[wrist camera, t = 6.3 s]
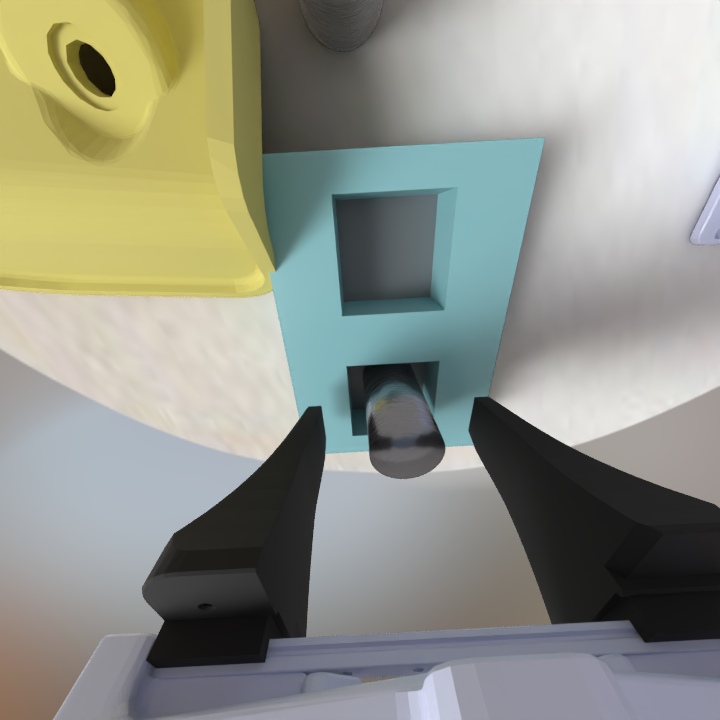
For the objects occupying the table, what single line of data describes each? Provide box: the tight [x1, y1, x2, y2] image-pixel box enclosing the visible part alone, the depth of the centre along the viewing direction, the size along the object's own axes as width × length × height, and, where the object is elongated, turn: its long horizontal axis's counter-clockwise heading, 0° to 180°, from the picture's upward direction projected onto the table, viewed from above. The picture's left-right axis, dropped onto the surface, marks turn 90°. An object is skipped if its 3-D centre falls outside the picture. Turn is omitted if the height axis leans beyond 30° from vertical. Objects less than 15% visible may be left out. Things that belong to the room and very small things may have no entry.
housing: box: [262, 137, 545, 454], centre depth 13 cm, size 10×14×3 cm
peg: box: [363, 363, 445, 479], centre depth 13 cm, size 3×3×6 cm
